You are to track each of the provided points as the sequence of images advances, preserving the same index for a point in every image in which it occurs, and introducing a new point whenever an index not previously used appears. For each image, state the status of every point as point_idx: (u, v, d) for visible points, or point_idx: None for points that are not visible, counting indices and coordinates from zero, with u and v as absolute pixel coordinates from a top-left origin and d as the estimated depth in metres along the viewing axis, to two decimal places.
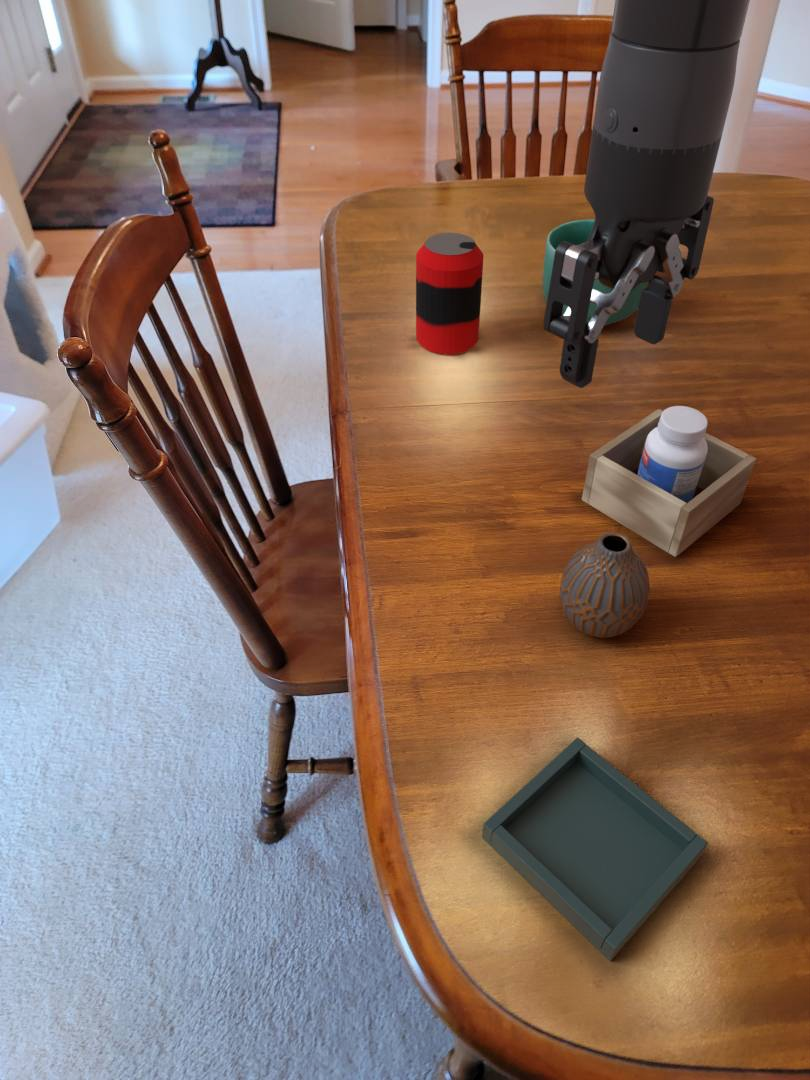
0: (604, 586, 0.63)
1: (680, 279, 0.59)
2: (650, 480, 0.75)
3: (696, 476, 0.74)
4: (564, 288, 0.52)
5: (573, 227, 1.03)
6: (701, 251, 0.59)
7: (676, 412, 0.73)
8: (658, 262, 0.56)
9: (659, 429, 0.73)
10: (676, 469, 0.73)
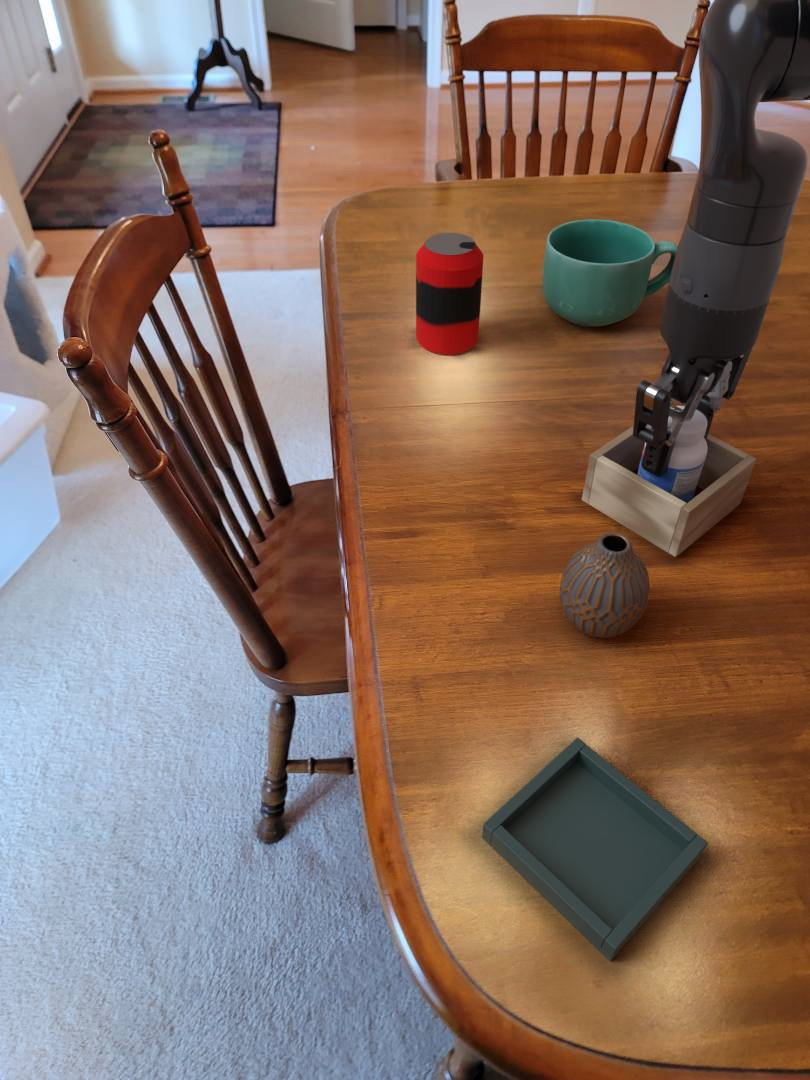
0: (604, 586, 0.63)
1: (720, 401, 0.73)
2: (650, 480, 0.75)
3: (696, 476, 0.74)
4: (647, 414, 0.67)
5: (573, 227, 1.03)
6: (739, 378, 0.73)
7: None
8: (712, 382, 0.70)
9: None
10: (676, 469, 0.73)
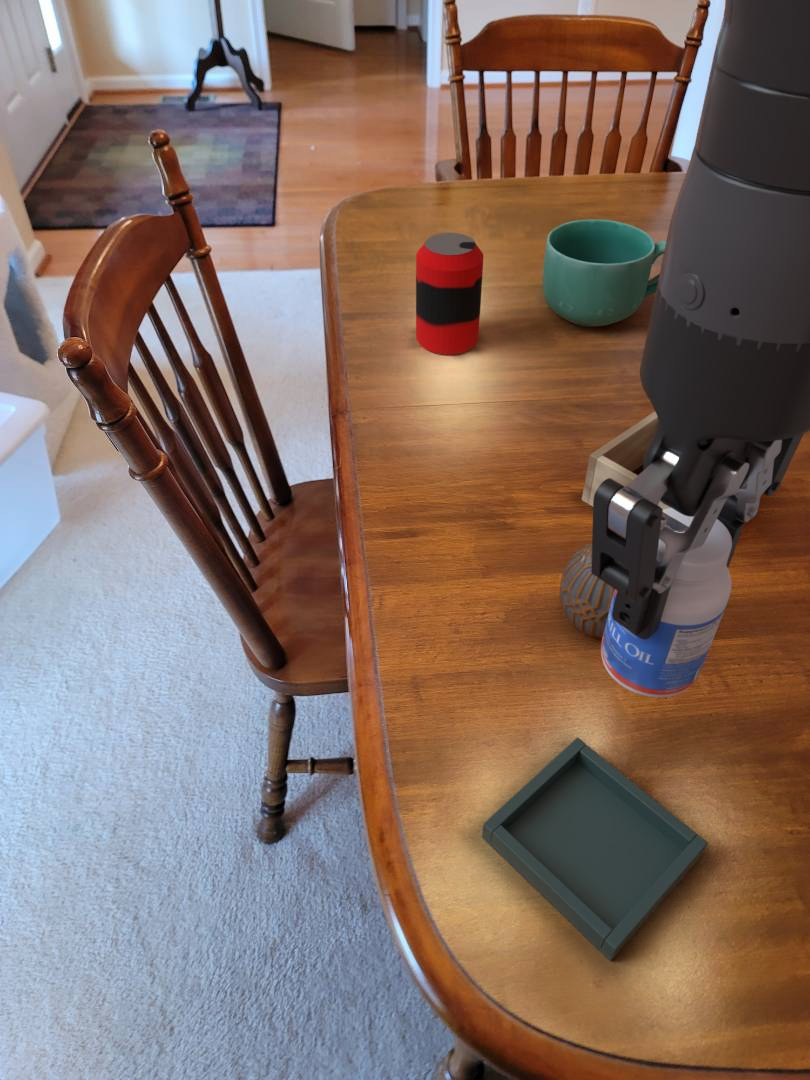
0: (604, 586, 0.63)
1: (756, 501, 0.40)
2: (628, 637, 0.42)
3: (711, 633, 0.41)
4: (615, 543, 0.34)
5: (573, 227, 1.03)
6: (790, 459, 0.40)
7: None
8: None
9: None
10: (675, 625, 0.40)
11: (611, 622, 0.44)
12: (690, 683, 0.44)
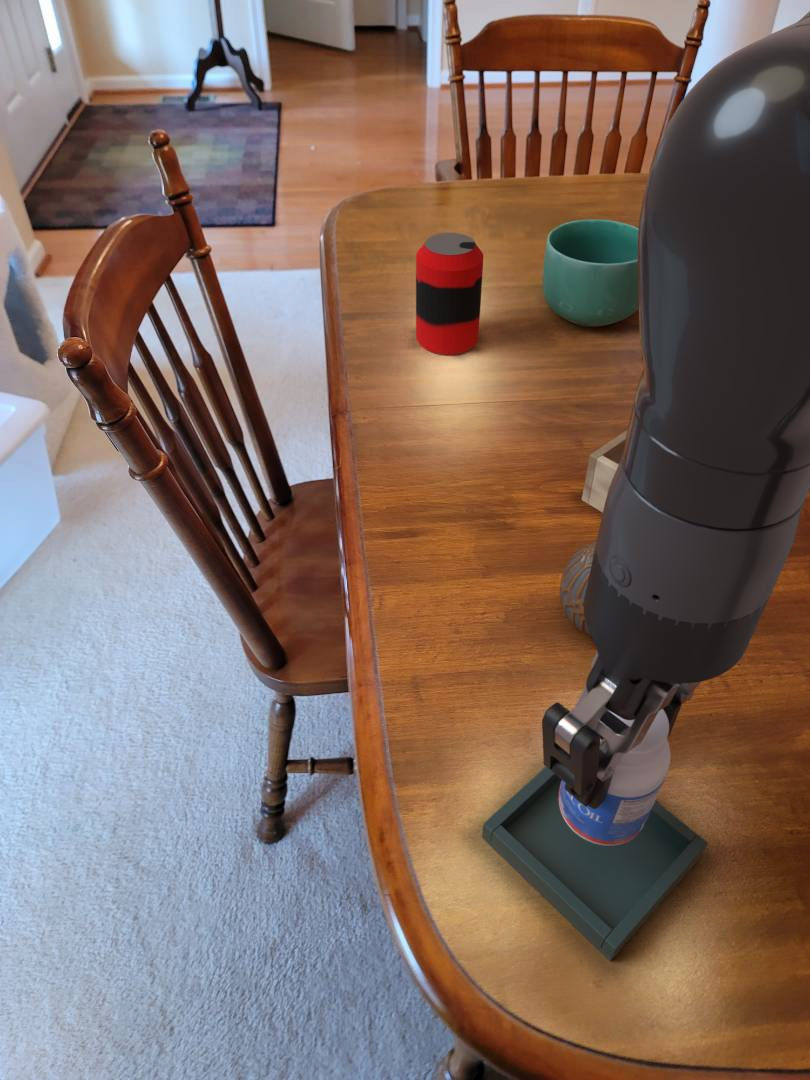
0: None
1: None
2: None
3: (653, 798, 0.47)
4: (561, 754, 0.39)
5: (573, 227, 1.03)
6: None
7: None
8: None
9: None
10: (620, 797, 0.45)
11: None
12: (636, 833, 0.49)
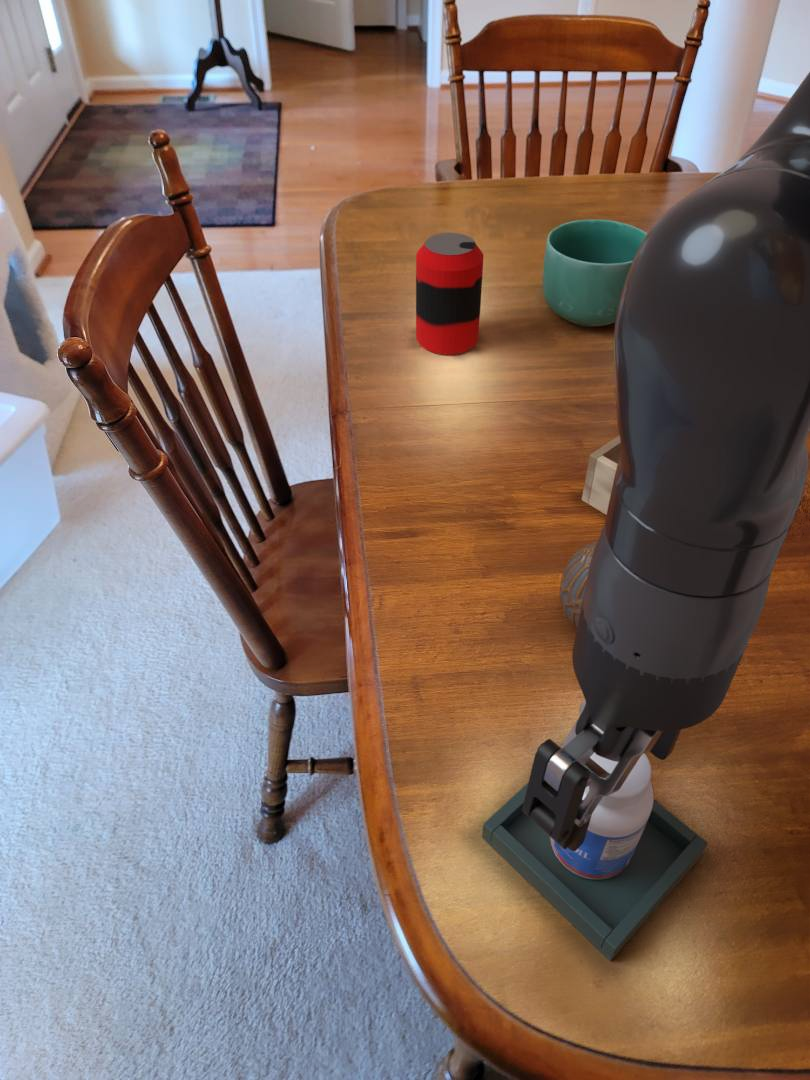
0: None
1: None
2: None
3: (637, 837, 0.50)
4: (547, 793, 0.41)
5: (573, 227, 1.03)
6: None
7: None
8: None
9: None
10: (606, 837, 0.48)
11: None
12: (623, 868, 0.52)
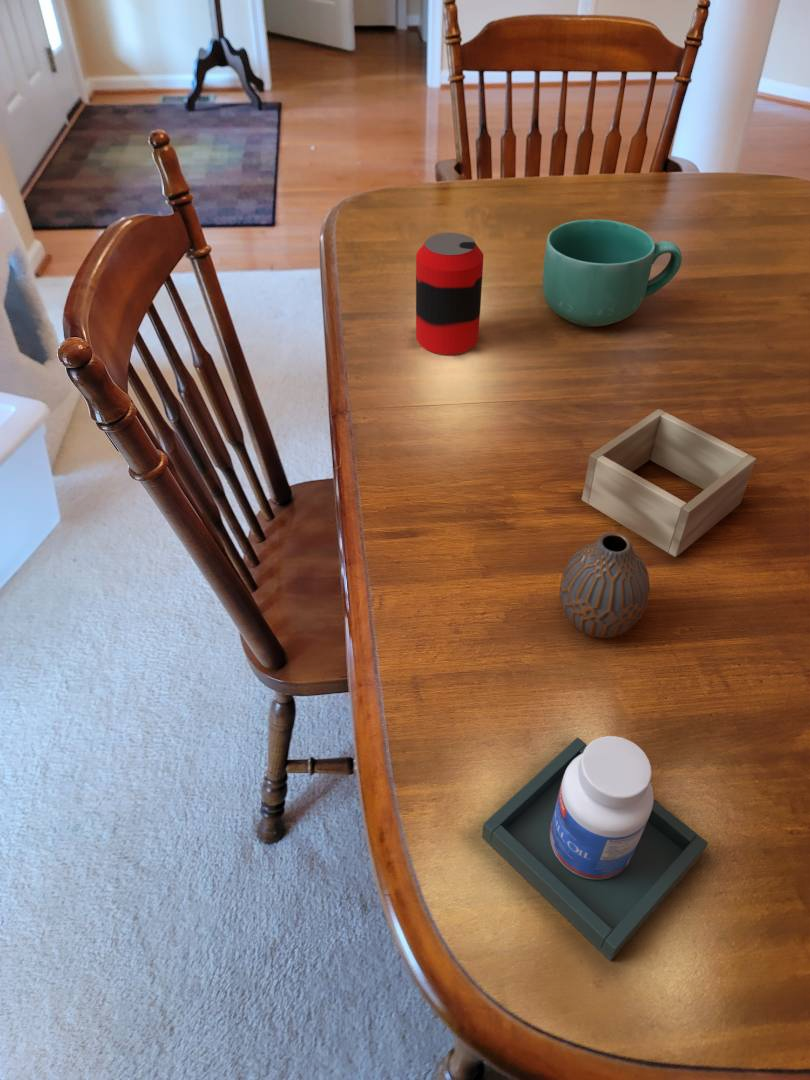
0: (604, 586, 0.63)
1: None
2: (569, 837, 0.51)
3: (637, 837, 0.50)
4: None
5: (573, 227, 1.03)
6: None
7: (605, 750, 0.48)
8: None
9: (579, 777, 0.48)
10: (606, 837, 0.48)
11: (556, 819, 0.52)
12: (623, 868, 0.52)
